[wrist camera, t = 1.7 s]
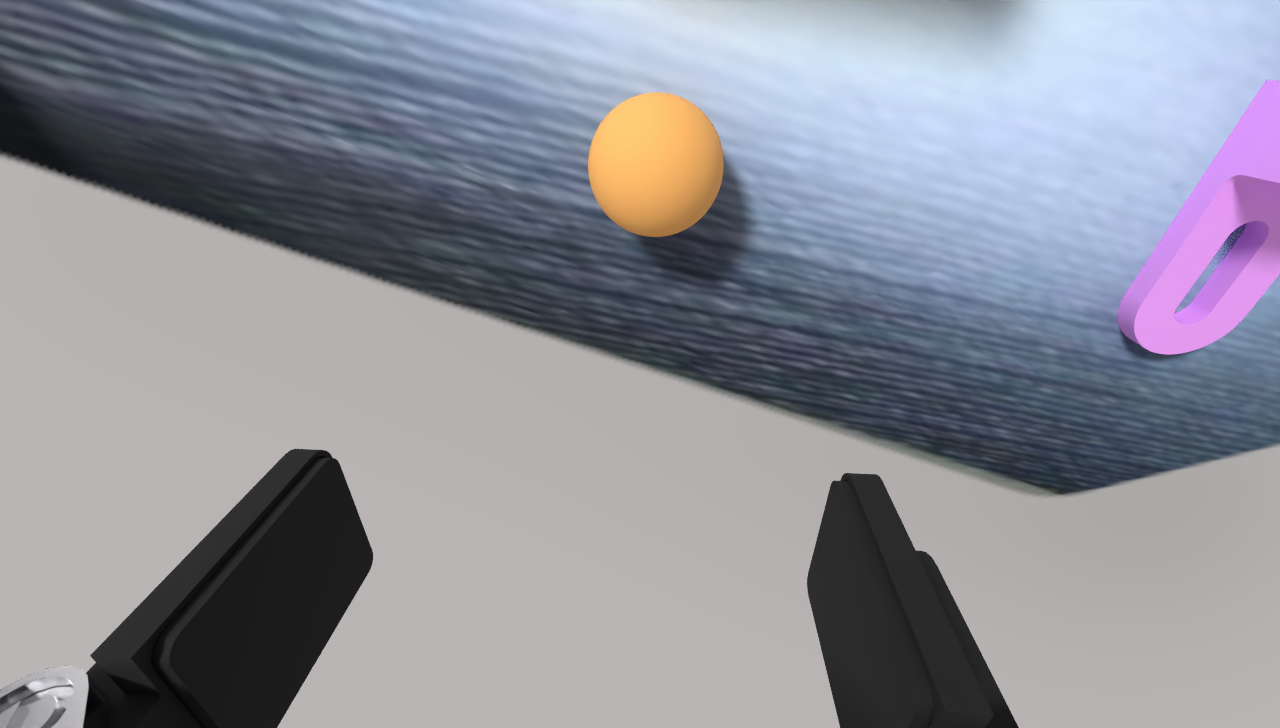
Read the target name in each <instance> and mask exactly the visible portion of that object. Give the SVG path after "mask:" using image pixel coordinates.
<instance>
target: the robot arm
mask: <svg viewBox="0 0 1280 728" xmlns="http://www.w3.org/2000/svg"><path fill="white" fill-rule="evenodd" d="M372 561H373V552H372V549H371V546H370V543H369V541H368V538H367V536H366V533H365V530H364V528H363V525H362V522H361V520H360V517H359V514H358V512H357V509H356V506H355V504H354V501H353V498H352V496H351V493H350V491H349V488H348V485H347V482H346V480H345V477H344V474H343V472H342V470H341V466H340V464H339V462H338V461H337V460H336V459H334V458H332V456H331V455H330V453H329V452H327V451H324V450H307V449H294V450H291V451H289V452H288V453H286V454H285V455H284V456H283V457H282V458H281V459H280V460H279V461H278V462H277V463H276V465H275V466H274V467H273V468H272V469H271V470H270V471H269V472H268V473H267V474H266V475H265V476H264V477H263V478H262V479H261V480H260V481H259V482H258V483H257V484H256V485H255V486H254V487H253V488H252V489H251V490H250V491H249V492H248V494H246V495H245V497H244V498H243V499H242V500H241V501H240V502H239V503H238V504H237V505H236V506H235V507H234V508H233V509H232V510H231V511H230V512H229V513H228V514H227V515H226V516H225V517H224V518H223V519H222V520H221V521H220V522H219V523H218V524H217V525H216V527H214V528H213V529H212V531H211V532H210V533H209V534H208V535H207V536H206V537H205V538H204V539H203V540H202V541H201V542H200V543H199V544H198V545H197V546H196V547H195V548H194V549H193V550H192V551H191V552H190V553H189V554H188V555H187V556H186V557H185V558H184V559H183V561H181V563H180V564H179V565H178V566H177V567H176V568H175V569H174V570H173V571H172V572H171V573H170V574H169V575H168V576H167V577H166V578H165V579H164V580H163V581H162V582H161V583H160V584H159V585H158V586H157V587H156V588H155V589H154V590H153V592H152V593H150V595H149V596H148V597H147V598H146V599H145V600H144V601H143V602H142V603H141V604H140V605H139V606H138V607H137V608H136V609H135V610H134V611H133V612H132V613H131V614H130V615H129V616H128V617H127V618H126V619H125V621H123V622H122V623H121V624H120V626H119V627H118V628H117V629H116V630H115V631H114V632H113V633H112V634H111V635H110V636H109V637H108V638H107V639H106V640H105V641H104V642H103V643H102V644H101V645H100V646H99V647H98V648H97V649H96V650H95V651H94V652H93V653H92V654H91V657H92V658H93V659H94V660H95V661H96V663H95V664H94V665H93V666H92V668H90V670H89V671H88V672H87V673H84V671H82V670H81V669H80V668H78V667H72V666H60V667H53V668H47V669H44V670H41V671H39V672H36V673H33V674H30V675H27V676H25V677H23V678H21V679H19V680H17V681H15V682H13V683H11V684H9V685H8V686H6V687H4V688H2V689H1V690H0V728H277V727H278V725H279V723H280V722H281V720H282V718H283V716H284V715H285V713H286V711H287V710H288V708H289V706H290V704H291V703H292V701H293V700H294V698H295V696H296V694H297V693H298V691H299V689H300V687H301V686H302V684H303V683H304V681H305V679H306V678H307V676H308V674H309V672H310V671H311V669H312V667H313V666H314V664H315V662H316V661H317V659H318V657H319V656H320V654H321V652H322V650H323V649H324V647H325V645H326V644H327V642H328V640H329V639H330V637H331V635H332V634H333V632H334V630H335V628H336V627H337V625H338V623H339V621H340V620H341V618H342V616H343V615H344V613H345V611H346V610H347V608H348V606H349V605H350V603H351V601H352V600H353V598H354V596H355V594H356V593H357V591H358V589H359V588H360V586H361V584H362V583H363V581H364V579H365V578H366V576H367V574H368V572H369V570H370V569H371V565H372ZM807 588H808V595H809V599H810V604H811V608H812V611H813V616H814V620H815V624H816V629H817V633H818V637H819V641H820V645H821V649H822V653H823V658H824V662H825V666H826V670H827V674H828V678H829V682H830V687H831V691H832V695H833V699H834V703H835V707H836V711H837V715H838V719H839V724H840V728H1019V727H1018V726H1017V723H1016V722H1015V720H1014V718H1013V716H1012V714H1011V712H1010V710H1009V708H1008V706H1007V704H1006V702H1005V700H1004V698H1003V696H1002V694H1001V692H1000V690H999V688H998V686H997V684H996V682H995V680H994V678H993V676H992V674H991V672H990V670H989V668H988V666H987V664H986V662H985V660H984V658H983V656H982V654H981V652H980V650H979V648H978V646H977V644H976V642H975V640H974V638H973V636H972V634H971V632H970V630H969V628H968V626H967V624H966V622H965V620H964V619H963V616H962V614H961V613H960V610H959V609H958V607H957V605H956V603H955V601H954V599H953V597H952V595H951V593H950V591H949V589H948V587H947V585H946V583H945V581H944V579H943V577H942V575H941V573H940V571H939V569H938V567H937V565H936V564H935V562H934V560H933V559H932V557H931V556H930V555H929V554H927V553H926V552H923V551H915V549H914V547H913V544H912V542H911V540H910V538H909V536H908V534H907V532H906V530H905V528H904V525H903V523H902V521H901V519H900V517H899V515H898V513H897V511H896V509H895V507H894V505H893V502H892V500H891V498H890V496H889V494H888V492H887V490H886V488H885V486H884V484H883V481H882V480H881V478H880V477H879V476H878V475H875V474H851V473H845V474H844V475H843V476H842V478H841V481H833V482H832V484H831V487H830V490H829V494H828V498H827V502H826V506H825V510H824V514H823V518H822V522H821V525H820V529H819V533H818V537H817V541H816V545H815V549H814V553H813V557H812V561H811V565H810V569H809V572H808V578H807Z"/></svg>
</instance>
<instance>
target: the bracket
mask: <svg viewBox="0 0 1280 728" xmlns="http://www.w3.org/2000/svg"><path fill="white" fill-rule="evenodd" d="M1245 223H1246V226H1245V229H1244V231H1243V233H1242V235H1241V236H1240V237H1239V239H1238V240H1237V241H1236V243H1235V244H1234V246H1233V247H1232V248H1231V250H1230V251H1229V252H1228V254H1227V255H1226V256H1225V258H1224V259H1223V260H1222V262H1221V263H1220V265H1219V266H1218V267H1217V269H1216V270H1215V271H1214V273H1213V274H1212V275H1211V277H1210V278H1209V279H1208V281H1207V282H1206V283H1205V285H1204V286H1203V288H1202V289H1201V290H1200V292H1199V293H1198V294H1197V296H1196V297H1195V298H1194V300H1193V301H1192V302H1191V304H1190V305H1189V306H1187V307H1186V308H1185V309H1183V310H1182V311H1180V312H1177V313H1175V310H1176V308H1177V306H1178V305H1179V304H1180V302H1181V301H1182V299H1183V298H1184V297H1185V295H1186V294H1187V293H1188V291H1189V290H1190V288H1191V287H1192V286H1193V284H1194V283H1195V282H1196V280H1197V279H1198V277H1199V276H1200V275H1201V273H1202V272H1203V270H1204V269H1205V268H1206V266H1207V265H1208V264H1209V262H1210V261H1211V259H1212V258H1213V257H1214V255H1215V254H1216V253H1217V251H1218V250H1219V248H1220V247H1221V246H1222V244H1223V243H1224V242H1225V240H1226V239H1227V237H1228V236H1229V235H1230V234H1231V233H1232V232H1233V231H1234V230H1235V229H1236V228H1238V227H1239V226H1241V225H1243V224H1245ZM1279 274H1280V81H1274V80H1266V81H1265V83H1264V84H1263V86H1262V87H1261V89H1260V90H1259V92H1258V93H1257V95H1256V96H1255V98H1254V99H1253V101H1252V102H1251V104H1250V105H1249V107H1248V108H1247V110H1246V111H1245V113H1244V114H1243V116H1242V117H1241V119H1240V120H1239V122H1238V123H1237V125H1236V127H1235V128H1234V130H1233V131H1232V133H1231V134H1230V136H1229V137H1228V139H1227V140H1226V142H1225V143H1224V145H1223V146H1222V148H1221V149H1220V151H1219V152H1218V154H1217V155H1216V157H1215V158H1214V160H1213V161H1212V163H1211V164H1210V166H1209V167H1208V169H1207V170H1206V172H1205V174H1204V175H1203V177H1202V178H1201V180H1200V181H1199V183H1198V184H1197V186H1196V187H1195V189H1194V190H1193V192H1192V193H1191V195H1190V196H1189V198H1188V199H1187V201H1186V202H1185V204H1184V205H1183V207H1182V208H1181V210H1180V211H1179V213H1178V214H1177V216H1176V218H1175V219H1174V221H1173V222H1172V224H1171V225H1170V227H1169V228H1168V230H1167V231H1166V233H1165V234H1164V236H1163V237H1162V239H1161V240H1160V242H1159V243H1158V245H1157V246H1156V248H1155V249H1154V251H1153V252H1152V254H1151V255H1150V257H1149V258H1148V260H1147V261H1146V263H1145V265H1144V266H1143V268H1142V269H1141V271H1140V272H1139V274H1138V275H1137V277H1136V278H1135V280H1134V281H1133V283H1132V284H1131V286H1130V287H1129V289H1128V290H1127V292H1126V293H1125V295H1124V297H1123V299H1122V301H1121V303H1120V306H1119V310H1118V323H1119V327H1120V329H1121V331H1122V332H1123V333H1124V334H1125V336H1127V337H1128V338H1129V339H1131V340H1133V341H1134V342H1136V343H1137V344H1139V345H1141V346H1142V347H1144V348H1145V349H1147V350H1149V351H1151V352H1154V353H1158V354H1168V355H1170V354H1181V353H1186V352H1190V351H1193V350H1196V349H1199V348H1202V347H1204V346H1206V345H1209V344H1211V343H1213V342H1214V341H1216V340H1218V339H1220V338H1221V337H1223V336H1224V335H1226V334H1227V333H1228V332H1230V331H1231V330H1232V329H1233V328H1234V327H1236V326H1237V325H1238V324H1239V323H1240V322H1241V321H1242V320H1243V318H1244V317H1245V316H1246V315H1247V314H1248V312H1249V311H1250V310H1251V309H1252V307H1253V306H1254V305H1255V304H1256V303H1257V301H1258V300H1259V299H1260V298H1261V296H1262V295H1263V294H1264V293H1265V291H1266V290H1267V289H1268V288H1269V286H1270V285H1271V284H1272V283H1273V281H1274V280H1275V279H1276V278H1277V276H1278V275H1279Z"/></svg>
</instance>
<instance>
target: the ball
mask: <svg viewBox="0 0 1280 728" xmlns="http://www.w3.org/2000/svg"><path fill="white" fill-rule="evenodd" d="M723 169H724V160H723V151H722V146H721V142H720V139H719V136H718V134H717V132H716V130H715V128H714V126H713V124H712V123H711V121H710V120H709V118H708V117H707V116H706V115H705V114H704V113H703V112H702V111H701V110H700V109H699V108H698V107H697V106H695V105H694V104H693V103H691V102H689V101H688V100H686V99H684V98H681V97H679V96H676V95H672V94H668V93H659V92H658V93H646V94H641V95H637V96H635V97H632V98H630V99H628V100H626V101H624V102H622V103H621V104H619V105H618V106H616V107H615V108H614V109H613V110H612V111H611V112H610V113H609V114H608V115H607V116H606V117H605V118H604V120H603V121H602V122H601V124H600V126H599V127H598V129H597V131H596V133H595V135H594V138H593V140H592V144H591V147H590V152H589V158H588V171H589V179H590V184H591V187H592V190H593V193H594V196H595V198H596V200H597V202H598V204H599V205H600V207H601V208H602V210H603V211H604V212H605V213H606V215H607V216H608V217H609V218H610V219H611V220H612V221H613V222H615V223H616V224H617V225H619V226H620V227H622V228H624V229H625V230H627V231H629V232H632V233H635V234H638V235H642V236H648V237H663V236H669V235H673V234H676V233H679V232H681V231H683V230H686V229H687V228H689V227H691V226H692V225H693V224H695V223H696V222H697V221H699V220H700V219H701V218H702V217H703V216H704V215H705V213H706V212H707V211H708V210H709V208H710V207H711V205H712V204H713V202H714V200H715V199H716V196H717V194H718V192H719V189H720V186H721V182H722V177H723Z"/></svg>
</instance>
